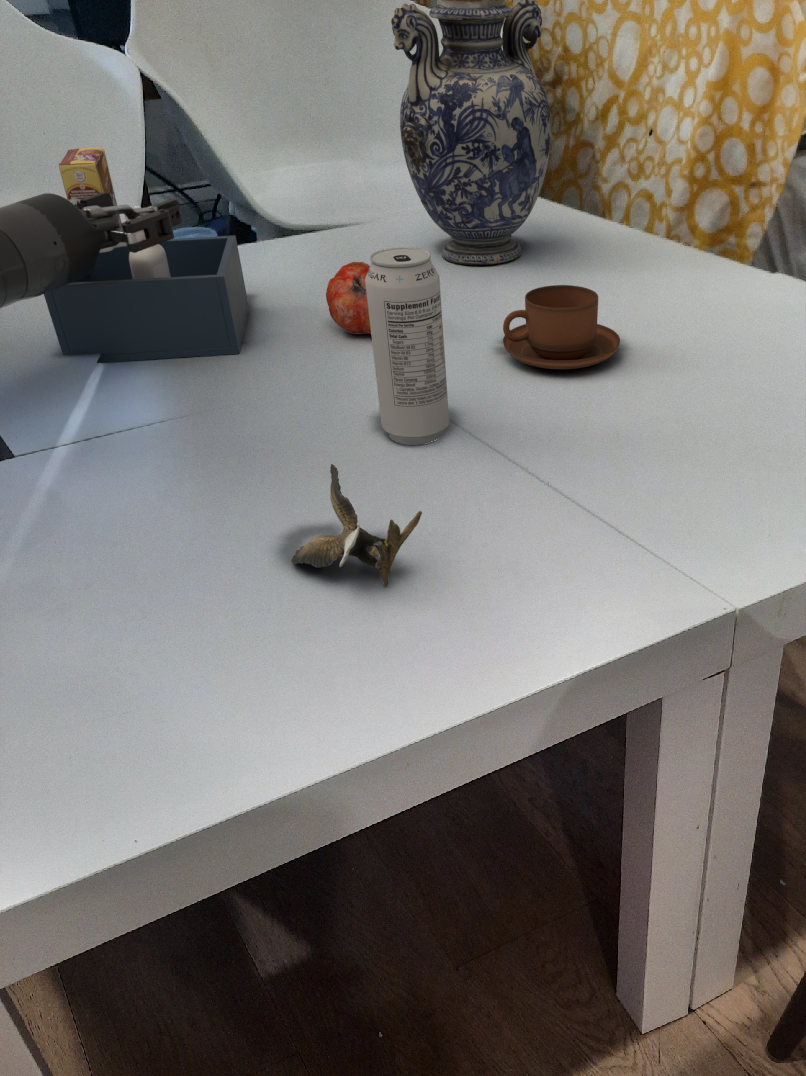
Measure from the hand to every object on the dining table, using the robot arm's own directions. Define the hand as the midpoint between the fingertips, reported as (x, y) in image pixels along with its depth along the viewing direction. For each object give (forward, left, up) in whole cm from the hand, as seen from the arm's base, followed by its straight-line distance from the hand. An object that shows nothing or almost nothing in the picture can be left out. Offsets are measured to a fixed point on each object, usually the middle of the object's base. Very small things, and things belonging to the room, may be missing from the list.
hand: (143, 206), depth 104 cm
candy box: (-8, +12, -13) cm, 19 cm away
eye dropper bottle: (-1, -2, -12) cm, 12 cm away
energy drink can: (+25, -33, -13) cm, 43 cm away
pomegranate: (+21, -5, -13) cm, 25 cm away
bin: (-1, -2, -12) cm, 13 cm away
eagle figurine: (+19, -55, -13) cm, 59 cm away
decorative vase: (+37, +22, -13) cm, 45 cm away
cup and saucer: (+41, -17, -13) cm, 46 cm away
